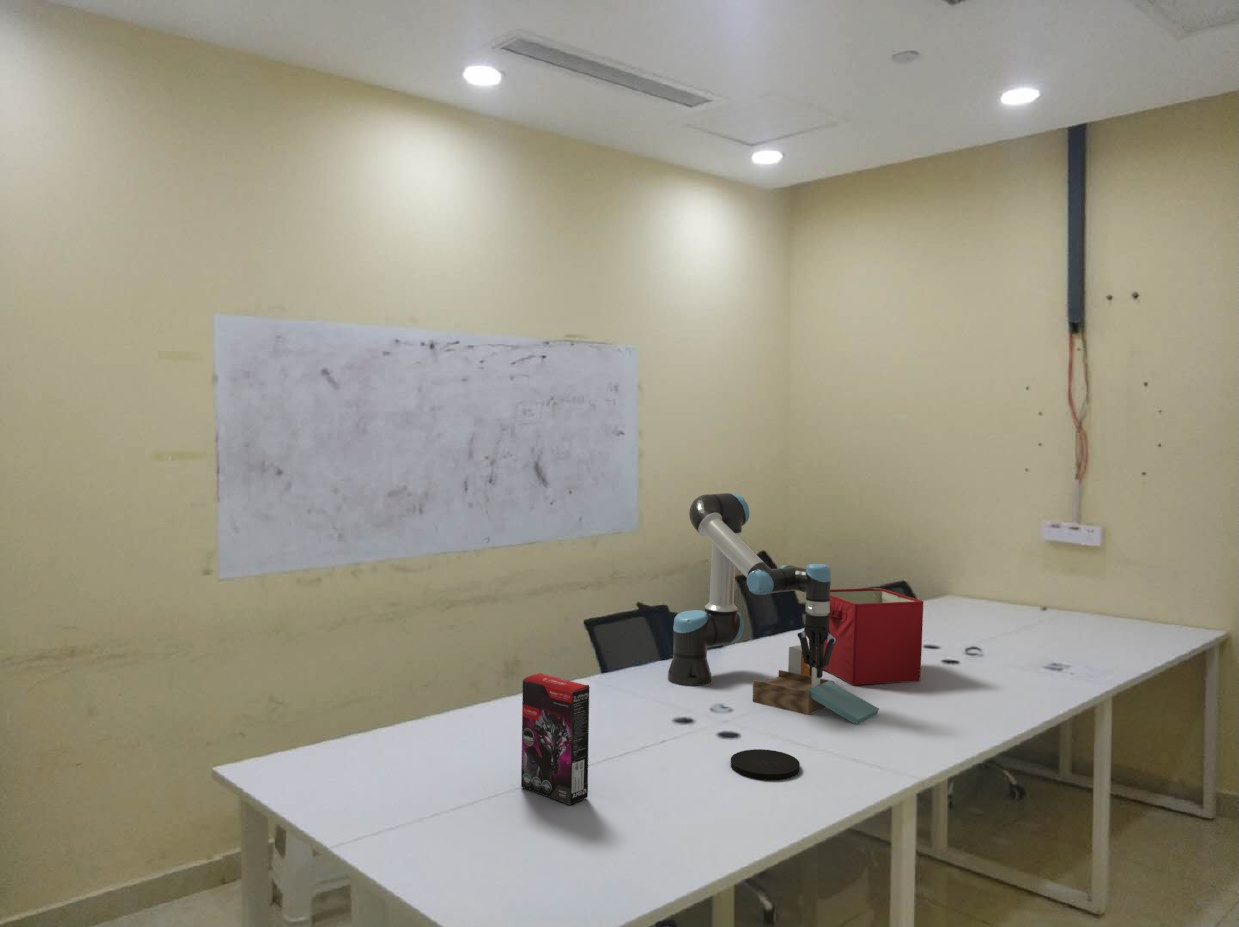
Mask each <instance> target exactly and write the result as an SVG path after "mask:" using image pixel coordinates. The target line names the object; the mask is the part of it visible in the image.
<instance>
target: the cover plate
mask: <svg viewBox="0 0 1239 927" xmlns="http://www.w3.org/2000/svg"><path fill="white" fill-rule="evenodd" d="M828 680H829V681H827V682H825V683H822V684H820V685H818V686H815V687H813V688H811V689H808V692H810V698H812V699H814V700H815V701H817V702H819V703H820V704H822V705H824V706H825V707H824V708H827V709H829V710H830V711H832V712H834V713H835V714H836V715H839V716H840V717H842V718H844V719H846V720H847V721H849V722H851V723H852V724H854V725H857V726H858V725H860V724H862V723H864V722H865V721H868V720H870V719H872V718H873V717H875V716H877V715H878V713H879V710H880V709H879V707H877V706H875V705H873V704H872V703H870V702H868V701H866V700H864V699H863V698H861V697H859V696H857V695H856V694H854V693H852V692H851V691H849V690H847V689H845V688H843V687H841V685H838V684H837V683H835V682H834V683H833V682H831V681H832V680H830V679H828Z"/></svg>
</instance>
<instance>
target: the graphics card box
mask: <svg viewBox="0 0 1239 927" xmlns="http://www.w3.org/2000/svg"><path fill="white" fill-rule="evenodd" d="M521 699H522V703H521V704H522V706H521V707H522V708H521V710H522V711H521V713H522V714H521V717H522V718H521V720H522V721H521V724H522V725H521V727H522V728H521V777H520V778H521V779H520V781H521V782H520V783H521V784H520V787H521V788H523V789H526V790H529V791H531V792H535V793H538V794H541V795H542V796H545V797H549V798H551V799H554V800H556V801H560V802H562V803H564V804H568V805H573V804H575V803H578V802H580V801H582V800H584V799H587V798H588V797H589V794H588V793H589V736H590V734H589V730H590V729H589V726H590V725H589V724H590V723H589V722H590V685H589V684H584V683H583V684H582V683H581V682H580V683H578V682H574V681H572V680H571V681H570V680H567V679H564V678H560V677H556V676H552V675H548V674H544V673H535V674H532V675H528V676H526V677H525V678H524V679H522V698H521Z"/></svg>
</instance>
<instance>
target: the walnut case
mask: <svg viewBox="0 0 1239 927" xmlns="http://www.w3.org/2000/svg"><path fill="white" fill-rule="evenodd" d="M777 673H778V675H777V676H776V677H774V678H770V679H768V680H765V681H763V680H757V679H753V680H752V702H753V703H756V704H761V705H764V706H768V707H773V708H777V709H781V710H786V711H790V712H793V713H794V712H795V713H798V714H803V715H807V716H809V715H812V714H813V713H816V712H818V711H821V710H822V709H824V708H826V707H825V706H824V705H822V704H820V703H819V702H817V701H815V700H814V699H812V698H810V692H808V689H811V688H812V677H811V676H806V675H801V674H797V673H792V672H788V670H787V671H785V670H781V669H779V670H778V672H777ZM829 680H830V679H825V678H820V684H822V683H825V682H827V681H829ZM830 681H831V682H833V683H835V681H834V680H830Z"/></svg>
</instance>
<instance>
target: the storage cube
mask: <svg viewBox="0 0 1239 927" xmlns="http://www.w3.org/2000/svg"><path fill="white" fill-rule="evenodd" d="M829 616H830V623H829V631H830V635H831V636H832V637H834V638H837V641H836V642H835V644H834V646H833V650H832V654H831V658H830V661H829V665H828V666H826V667H823V671H826V672H829V673H830V674H832V675H834V676H836V677H838V678H840V679H841V680H843V681H845V682H847V683H848V684H850V685H851V686H858V685H874V684H891V683H892V684H893V683H909V682H910V683H911V682H919V681H920V680H921V669H922V648H923V624H924V623H923V622H924V620H923V619H924V601H923V600H921V599H918V598H914V597H910V596H907V595H903V594H901V593H897V592H894V591H890V590H889V589H885V588H881V587H877V588H876V587H875V588H872V587H871V588H870V587H869V588H868V587H867V588H842V589H841V588H837V589H836V588H835V589H834V588H832V589H831V588H830V613H829ZM827 640H828V638H827V639H826V641H825V645H824V654H825V650H826V646H827V643H828V642H827Z"/></svg>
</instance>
